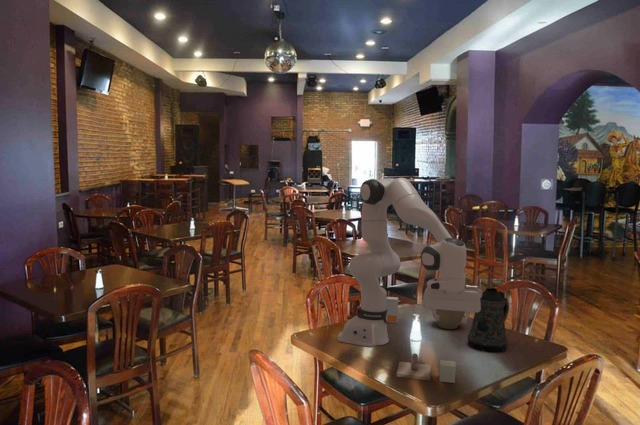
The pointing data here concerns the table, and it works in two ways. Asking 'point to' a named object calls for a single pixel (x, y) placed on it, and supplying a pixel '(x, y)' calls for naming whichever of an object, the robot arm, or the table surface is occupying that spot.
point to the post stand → (414, 369)
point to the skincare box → (392, 309)
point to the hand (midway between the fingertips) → (450, 322)
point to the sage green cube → (447, 371)
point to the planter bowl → (449, 318)
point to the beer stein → (490, 323)
